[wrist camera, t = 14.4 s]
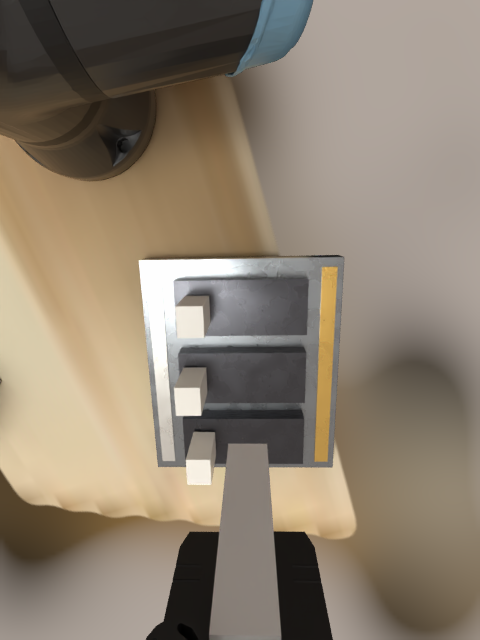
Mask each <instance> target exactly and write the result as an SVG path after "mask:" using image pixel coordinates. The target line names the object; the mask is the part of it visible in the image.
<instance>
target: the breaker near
mask: <svg viewBox="0 0 480 640" xmlns="http://www.w3.org/2000/svg"><path fill="white" fill-rule="evenodd" d="M175 311H176V326H177V338H205V335H206V333H207V330H208V328H209V326H210V302H209V296H185V297H184V298H183V299H182V300H181V301H180V302H179V303H178V304H177V305H176V306H175Z"/></svg>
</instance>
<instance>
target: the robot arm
mask: <svg viewBox="0 0 480 640" xmlns="http://www.w3.org/2000/svg"><path fill="white" fill-rule="evenodd" d="M312 4H313V0H0V135H3V136H6V137H9V138H12V139H14V140H15V141H16V142H17V143H18V145H19V146H20V147H21V148H22V149H23V150H24V151H25V152H26V153H27V154H28V155H29V156H30V157H31V158H32V159H33V160H35V161H36V162H37V163H39V164H40V165H42V166H43V167H45V168H47V169H49V170H51V171H53V172H55V173H57V174H60V175H63V176H66V177H70V178H74V179H78V180H85V181H97V180H104V179H108V178H111V177H114V176H116V175H118V174H120V173H122V172H123V171H125V170H126V169H128V168H129V167H130V166H131V165H133V164H134V163H135V162H136V161H137V159H138V158H139V157H140V156H141V154H142V153H143V151H144V150H145V148H146V146H147V144H148V142H149V140H150V137H151V135H152V132H153V128H154V123H155V116H156V98H155V91H154V89H159V88H163V87H168V86H172V85H177V84H181V83H186V82H191V81H195V80H200V79H204V78H209V77H213V76H218V75H222V74H225V75H226V76H227V77H234V76H236V75H237V74H239V73H241V72H242V71H243V70H245V69H249V68H253V67H256V66H260V65H264V64H267V63H271V62H274V61H277V60H279V59H281V58H282V57H284V56H285V55H286V54H287V53H288V52H289V50H290V49H291V48H293V47H294V46H295V45H296V43H297V42H298V40H299V38H300V37H301V34H302V33H303V30H304V28H305V26H306V23H307V20H308V17H309V14H310V11H311V8H312ZM146 640H333V639H332V634H331V628H330V623H329V618H328V613H327V608H326V603H325V598H324V593H323V588H322V584H321V578H320V573H319V568H318V563H317V557H316V552H315V547H314V546H313V544H312V542H311V541H310V539H309V538H308V536H307V535H306V533H305V532H274V531H273V518H272V504H271V491H270V477H269V464H268V450H267V444H228V452H227V462H226V472H225V482H224V492H223V502H222V511H221V521H220V531H219V532H189V534H188V535H187V537H186V538H185V540H184V541H183V543H182V544H181V546H180V549H179V554H178V558H177V563H176V568H175V572H174V577H173V583H172V586H171V590H170V595H169V599H168V604H167V608H166V613H165V618H164V622H162V623H160V624H159V625H157V626H156V627H155V628H154V629H153V631H152V632H151V633H150V634H149V635H148V636H147V638H146Z"/></svg>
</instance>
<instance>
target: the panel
mask: <svg viewBox="0 0 480 640" xmlns="http://www.w3.org/2000/svg"><path fill="white" fill-rule="evenodd" d="M139 267H140V278H141V289H142V300H143V310H144V321H145V332H146V342H147V353H148V364H149V375H150V385H151V396H152V407H153V417H154V428H155V439H156V450H157V460H158V467H186V457H187V454H188V450H189V446H190V443H191V439H192V436H193V432H215V442H216V458H215V465H214V467H226V462H227V452H228V444H267V450H268V464H269V467H332V466H333V448H334V430H335V413H336V396H337V378H338V360H339V359H338V358H339V343H340V325H341V307H342V289H343V271H344V257H342V256H339V255H323V256H321V255H320V256H261V257H202V258H146V259H142V260H139ZM185 296H209V302H210V326H209V328H208V330H207V333H206V335H205V338H177V326H176V311H175V306H176V305H177V304H178V303H179V302H180V301H181V300H182V299H183V298H184V297H185ZM201 367H206V372H207V396H206V400H205V404H204V408H203V411H202V415H201V416H176V409H175V396H174V387H175V385H176V382H177V380H178V378H179V376H180V374H181V372H182V370H183V368H201Z"/></svg>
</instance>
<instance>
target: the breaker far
mask: <svg viewBox="0 0 480 640" xmlns="http://www.w3.org/2000/svg"><path fill="white" fill-rule="evenodd" d="M215 458H216V442H215V432H193V436H192V439H191V443H190V446H189V450H188V454H187V457H186V471H187V485H211V484H212V478H213V471H214V465H215Z"/></svg>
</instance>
